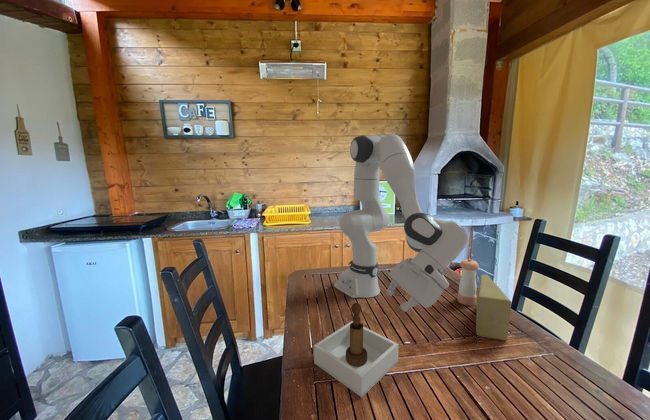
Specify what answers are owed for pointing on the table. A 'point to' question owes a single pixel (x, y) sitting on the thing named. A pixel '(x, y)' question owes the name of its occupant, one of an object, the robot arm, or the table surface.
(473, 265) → the pepper shaker
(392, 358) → the open box
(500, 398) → the table surface
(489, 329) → the cheese
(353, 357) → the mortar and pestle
